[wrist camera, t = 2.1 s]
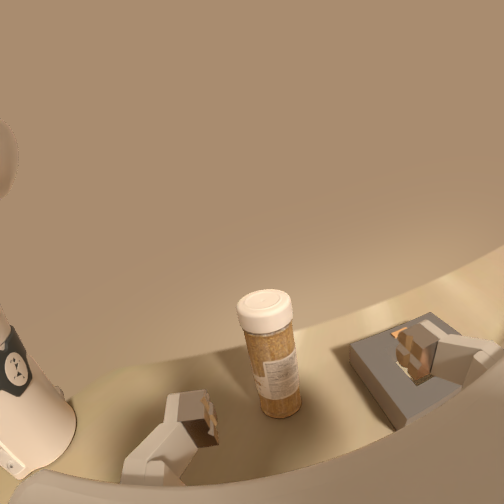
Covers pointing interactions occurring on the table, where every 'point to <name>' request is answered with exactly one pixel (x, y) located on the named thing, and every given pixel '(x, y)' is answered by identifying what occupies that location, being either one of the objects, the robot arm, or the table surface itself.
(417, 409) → the square frame
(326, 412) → the table surface
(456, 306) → the table surface
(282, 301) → the sprinkles bottle
